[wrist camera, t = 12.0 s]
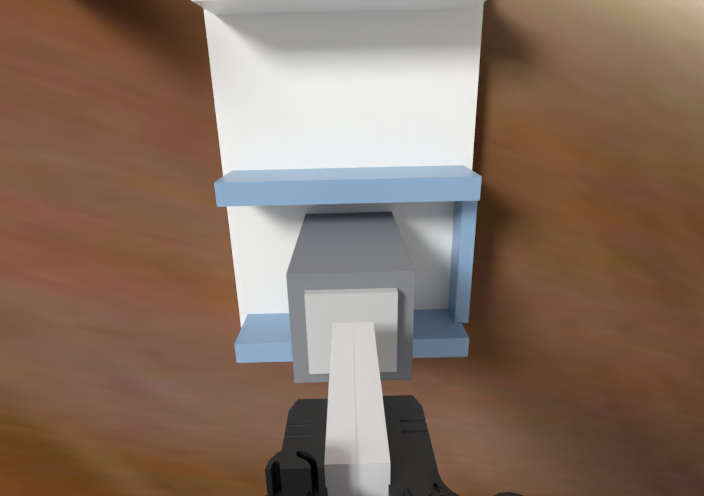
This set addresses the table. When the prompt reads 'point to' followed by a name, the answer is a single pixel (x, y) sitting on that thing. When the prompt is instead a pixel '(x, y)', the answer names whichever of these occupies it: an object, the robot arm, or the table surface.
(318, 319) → the plug
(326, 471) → the robot arm
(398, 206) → the slotted holder tray
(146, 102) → the table surface
